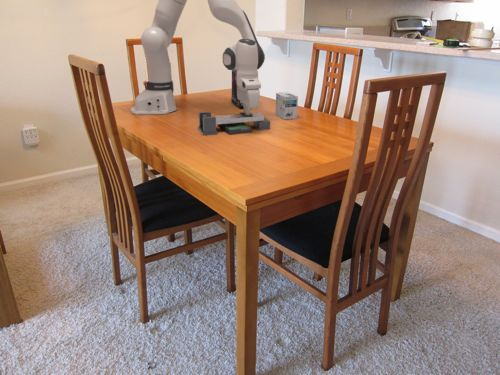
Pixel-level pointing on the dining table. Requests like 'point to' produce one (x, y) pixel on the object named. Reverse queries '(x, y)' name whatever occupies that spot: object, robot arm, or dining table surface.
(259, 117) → the bar
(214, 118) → the strap bracket
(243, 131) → the disk drive
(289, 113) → the light bulb box
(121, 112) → the dining table surface
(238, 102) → the graphics card box
